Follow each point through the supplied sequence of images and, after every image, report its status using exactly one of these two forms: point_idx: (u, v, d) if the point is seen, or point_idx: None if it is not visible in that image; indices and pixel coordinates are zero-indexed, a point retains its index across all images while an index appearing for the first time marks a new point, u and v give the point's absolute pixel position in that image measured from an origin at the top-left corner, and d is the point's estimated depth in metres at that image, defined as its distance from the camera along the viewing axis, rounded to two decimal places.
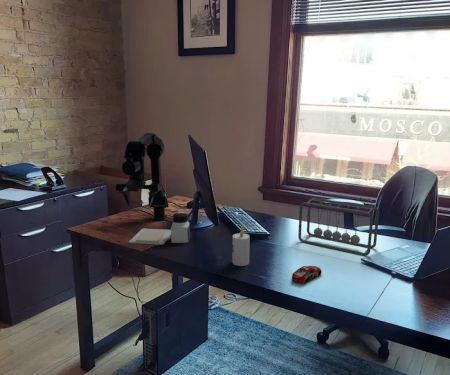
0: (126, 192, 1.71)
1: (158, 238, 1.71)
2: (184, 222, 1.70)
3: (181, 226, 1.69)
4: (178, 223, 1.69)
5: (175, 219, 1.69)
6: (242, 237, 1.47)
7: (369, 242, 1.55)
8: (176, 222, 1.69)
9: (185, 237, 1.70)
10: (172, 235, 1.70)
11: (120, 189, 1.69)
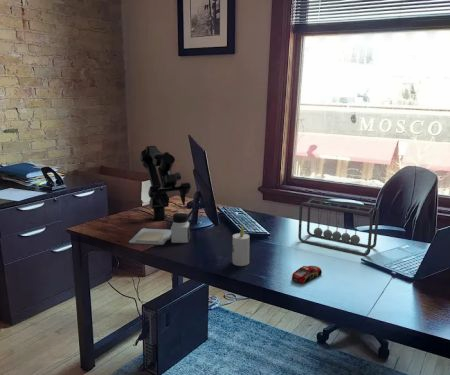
0: None
1: (158, 238, 1.71)
2: (184, 222, 1.70)
3: (181, 226, 1.69)
4: (178, 223, 1.69)
5: (175, 219, 1.69)
6: (242, 237, 1.47)
7: (369, 242, 1.55)
8: (176, 222, 1.69)
9: (185, 237, 1.70)
10: (172, 235, 1.70)
11: (156, 188, 1.76)
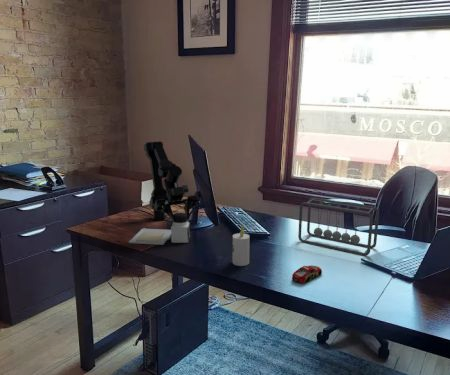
0: None
1: (158, 238, 1.71)
2: (184, 222, 1.70)
3: (181, 226, 1.69)
4: (178, 223, 1.69)
5: (175, 219, 1.69)
6: (242, 237, 1.47)
7: (369, 242, 1.55)
8: (176, 222, 1.69)
9: (185, 237, 1.70)
10: (172, 235, 1.70)
11: (162, 202, 1.69)
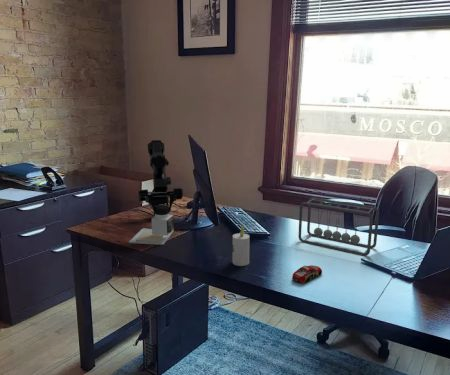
0: (152, 198, 1.71)
1: (158, 238, 1.71)
2: (164, 214, 1.68)
3: (161, 218, 1.68)
4: (158, 215, 1.68)
5: (156, 211, 1.69)
6: (242, 237, 1.47)
7: (369, 242, 1.55)
8: (156, 214, 1.69)
9: (164, 230, 1.69)
10: (152, 227, 1.70)
11: (144, 192, 1.69)
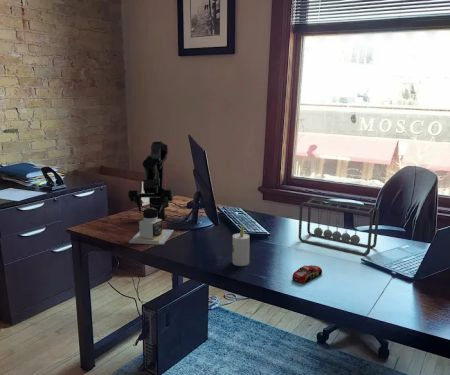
0: (139, 198, 1.72)
1: (158, 238, 1.71)
2: (151, 218, 1.70)
3: (148, 221, 1.70)
4: (145, 218, 1.70)
5: (143, 214, 1.71)
6: (242, 237, 1.47)
7: (369, 242, 1.55)
8: (144, 217, 1.71)
9: (150, 233, 1.70)
10: (140, 229, 1.72)
11: (133, 193, 1.71)
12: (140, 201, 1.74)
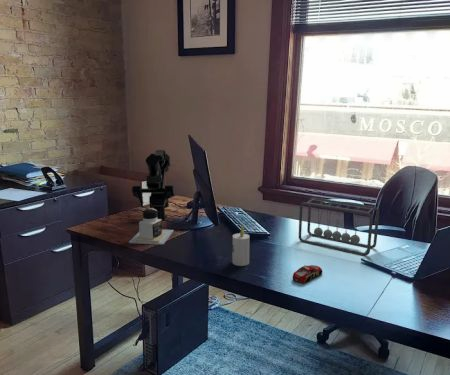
0: (141, 194, 1.81)
1: (158, 238, 1.71)
2: (151, 218, 1.70)
3: (148, 222, 1.70)
4: (145, 219, 1.70)
5: (143, 214, 1.71)
6: (242, 237, 1.47)
7: (369, 242, 1.55)
8: (144, 217, 1.70)
9: (150, 234, 1.70)
10: (140, 230, 1.72)
11: (137, 188, 1.80)
12: (142, 196, 1.82)
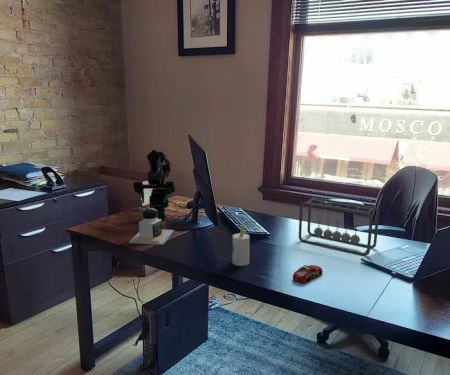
0: (142, 189, 1.84)
1: (158, 238, 1.71)
2: (151, 218, 1.70)
3: (148, 222, 1.70)
4: (145, 219, 1.70)
5: (143, 214, 1.71)
6: (242, 237, 1.47)
7: (369, 242, 1.55)
8: (144, 217, 1.70)
9: (150, 234, 1.70)
10: (140, 230, 1.72)
11: (138, 184, 1.83)
12: (143, 192, 1.85)
